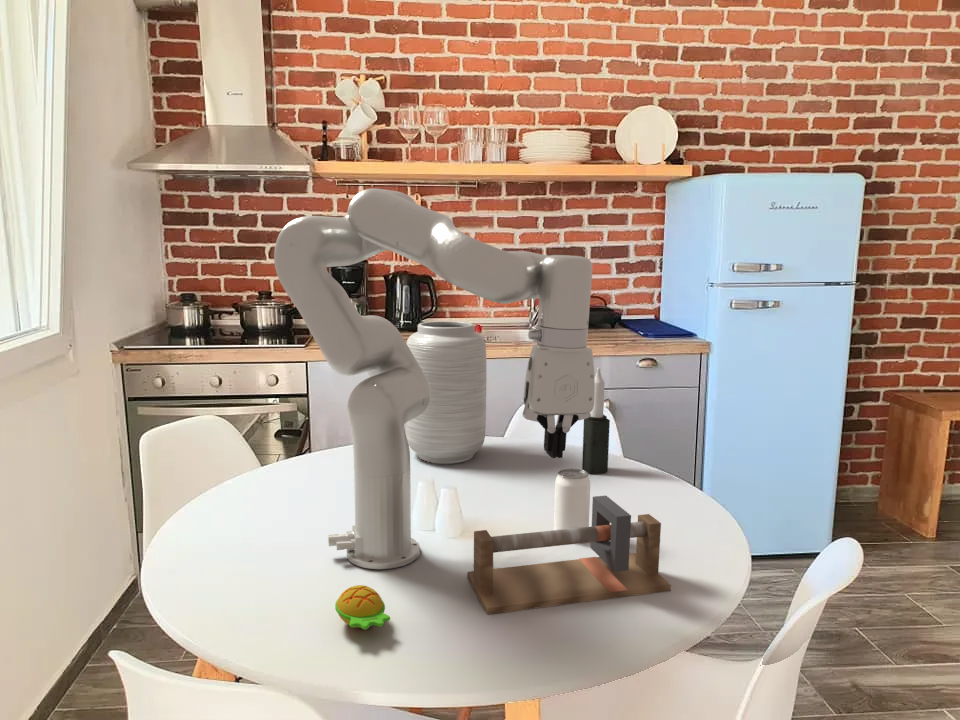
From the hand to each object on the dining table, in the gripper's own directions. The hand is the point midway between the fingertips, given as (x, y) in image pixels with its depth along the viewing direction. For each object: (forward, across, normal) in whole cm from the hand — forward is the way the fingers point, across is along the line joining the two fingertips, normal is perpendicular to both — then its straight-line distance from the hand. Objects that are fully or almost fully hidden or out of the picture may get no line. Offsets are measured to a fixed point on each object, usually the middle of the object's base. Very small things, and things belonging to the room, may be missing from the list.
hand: (553, 455), depth 111 cm
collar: (+18, +10, -1) cm, 20 cm away
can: (+22, +11, +17) cm, 30 cm away
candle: (+22, +31, +51) cm, 64 cm away
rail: (+21, +3, -1) cm, 22 cm away
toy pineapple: (+22, -30, -6) cm, 38 cm away
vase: (+23, -1, +71) cm, 75 cm away
